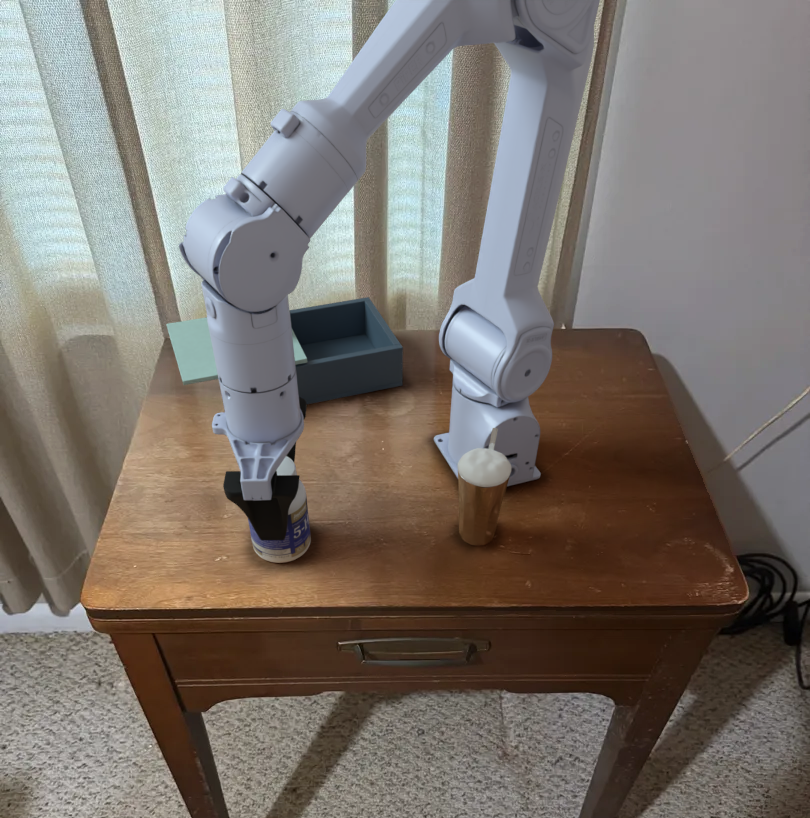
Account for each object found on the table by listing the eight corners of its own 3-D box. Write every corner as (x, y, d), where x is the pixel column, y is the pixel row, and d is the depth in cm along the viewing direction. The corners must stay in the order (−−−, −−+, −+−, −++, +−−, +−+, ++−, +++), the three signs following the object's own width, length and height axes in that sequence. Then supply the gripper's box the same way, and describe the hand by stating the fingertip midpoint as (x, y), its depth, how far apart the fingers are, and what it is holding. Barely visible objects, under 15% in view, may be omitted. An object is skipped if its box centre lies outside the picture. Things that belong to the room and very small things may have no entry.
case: (402, 385, 87) (403, 347, 83) (292, 407, 83) (287, 368, 80) (369, 333, 94) (368, 296, 91) (267, 352, 91) (262, 314, 88)
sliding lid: (307, 362, 80) (303, 322, 77) (183, 385, 77) (174, 344, 74) (280, 308, 88) (276, 270, 85) (167, 327, 85) (157, 288, 81)
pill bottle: (307, 565, 67) (299, 490, 61) (248, 563, 67) (233, 489, 61) (314, 523, 71) (306, 449, 64) (258, 522, 71) (245, 447, 64)
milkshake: (508, 517, 72) (521, 433, 64) (494, 556, 68) (506, 472, 61) (462, 506, 73) (470, 422, 65) (446, 544, 69) (452, 459, 62)
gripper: (216, 321, 61) (240, 453, 70) (185, 432, 51) (218, 568, 60) (304, 320, 61) (316, 452, 71) (291, 431, 51) (307, 567, 61)
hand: (276, 505), depth 65 cm, fingers open, 7 cm apart
